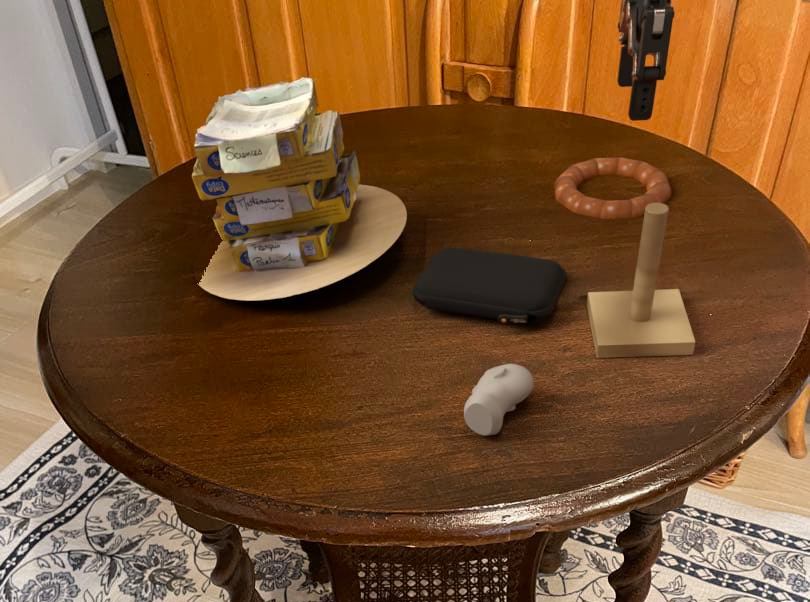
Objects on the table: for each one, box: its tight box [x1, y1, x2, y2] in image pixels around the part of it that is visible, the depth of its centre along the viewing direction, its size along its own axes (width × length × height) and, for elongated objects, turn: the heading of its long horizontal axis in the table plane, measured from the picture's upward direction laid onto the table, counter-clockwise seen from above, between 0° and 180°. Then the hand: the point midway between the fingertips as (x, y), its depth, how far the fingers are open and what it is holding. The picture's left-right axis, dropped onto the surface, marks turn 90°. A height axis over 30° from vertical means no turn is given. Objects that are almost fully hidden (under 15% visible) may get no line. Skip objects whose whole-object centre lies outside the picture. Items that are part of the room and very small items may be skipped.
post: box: [586, 203, 696, 359], centre depth 80 cm, size 9×9×12 cm
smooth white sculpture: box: [463, 363, 534, 436], centre depth 76 cm, size 4×8×5 cm
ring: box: [553, 156, 673, 220], centre depth 101 cm, size 13×13×3 cm
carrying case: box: [412, 246, 568, 325], centre depth 88 cm, size 11×3×15 cm
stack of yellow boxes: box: [191, 77, 408, 302], centre depth 92 cm, size 25×25×17 cm
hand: (633, 101), depth 88 cm, fingers open, 8 cm apart
